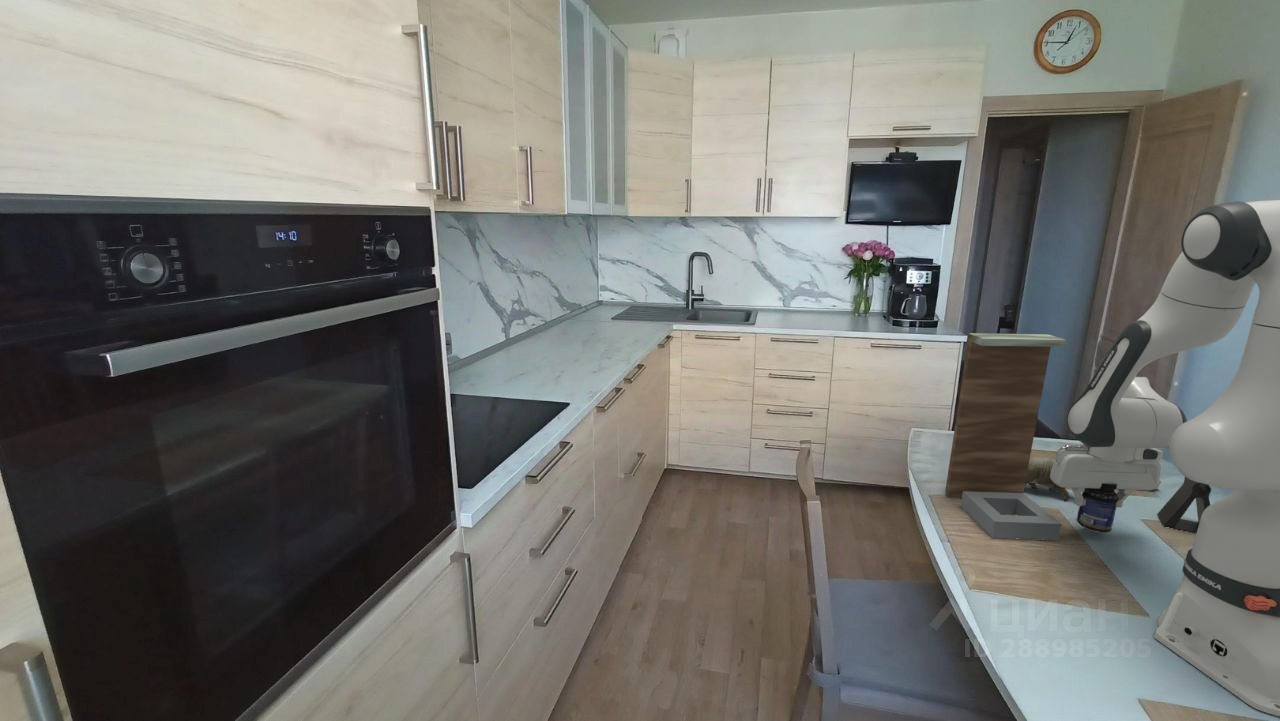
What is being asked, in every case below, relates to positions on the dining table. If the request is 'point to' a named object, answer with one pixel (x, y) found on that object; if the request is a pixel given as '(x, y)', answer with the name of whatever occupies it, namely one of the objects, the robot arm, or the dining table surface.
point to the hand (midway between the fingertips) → (1097, 505)
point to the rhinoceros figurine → (1043, 475)
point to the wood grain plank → (998, 411)
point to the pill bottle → (1098, 508)
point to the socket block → (1010, 516)
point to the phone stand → (1185, 506)
